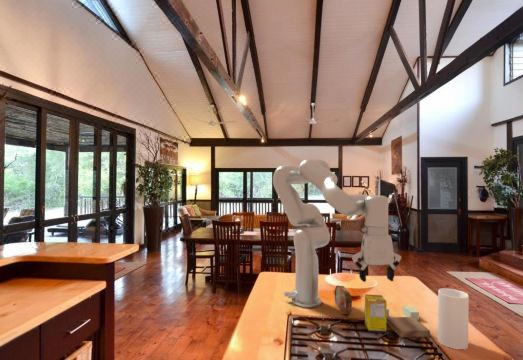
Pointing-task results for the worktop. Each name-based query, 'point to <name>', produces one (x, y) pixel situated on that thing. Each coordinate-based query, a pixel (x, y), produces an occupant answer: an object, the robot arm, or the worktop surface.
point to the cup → (453, 318)
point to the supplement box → (375, 313)
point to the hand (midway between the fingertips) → (376, 280)
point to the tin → (343, 299)
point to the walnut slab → (407, 327)
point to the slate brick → (387, 312)
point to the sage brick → (410, 312)
